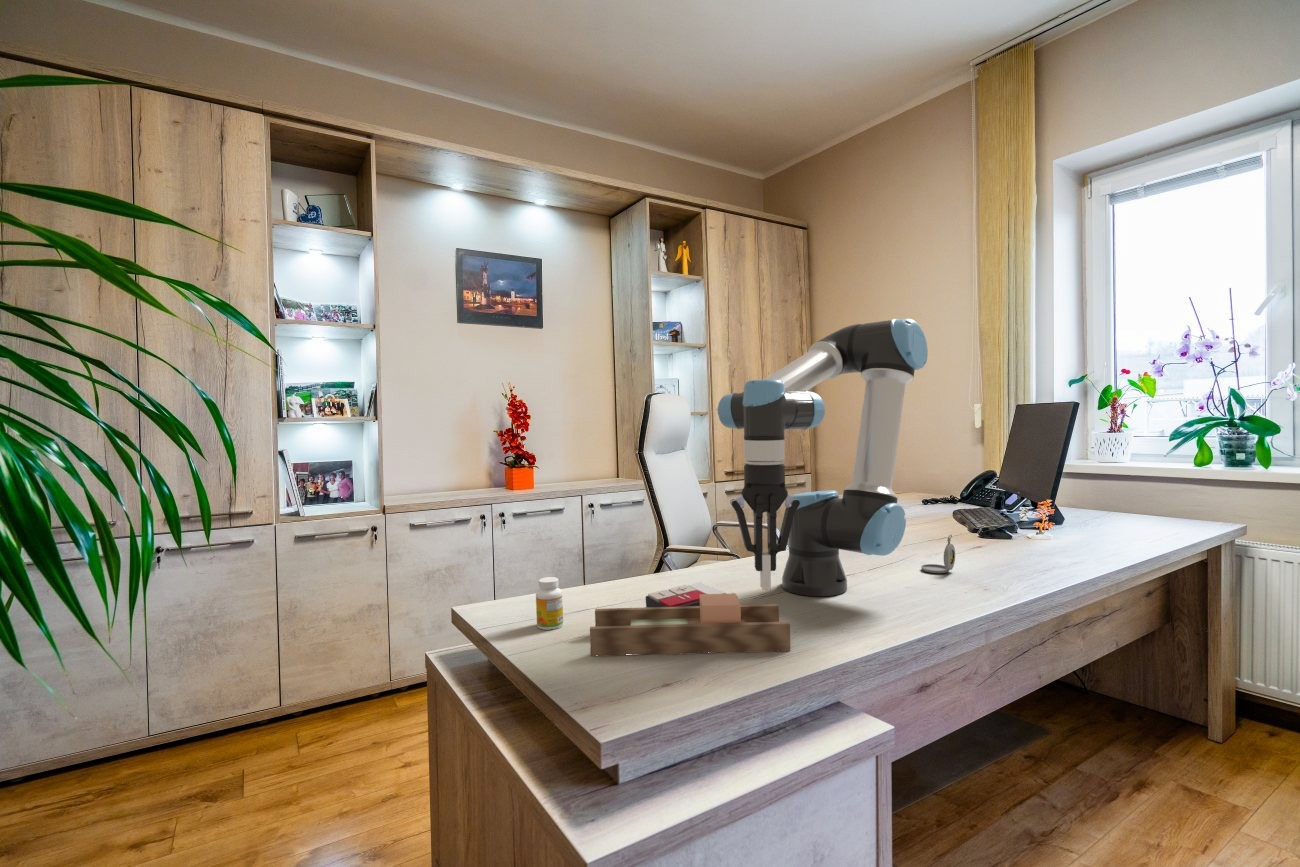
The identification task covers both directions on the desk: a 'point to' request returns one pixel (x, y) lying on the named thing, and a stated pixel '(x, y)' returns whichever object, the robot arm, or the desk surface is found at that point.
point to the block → (719, 608)
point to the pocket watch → (948, 560)
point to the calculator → (680, 596)
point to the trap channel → (686, 631)
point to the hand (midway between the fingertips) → (765, 587)
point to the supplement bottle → (549, 604)
